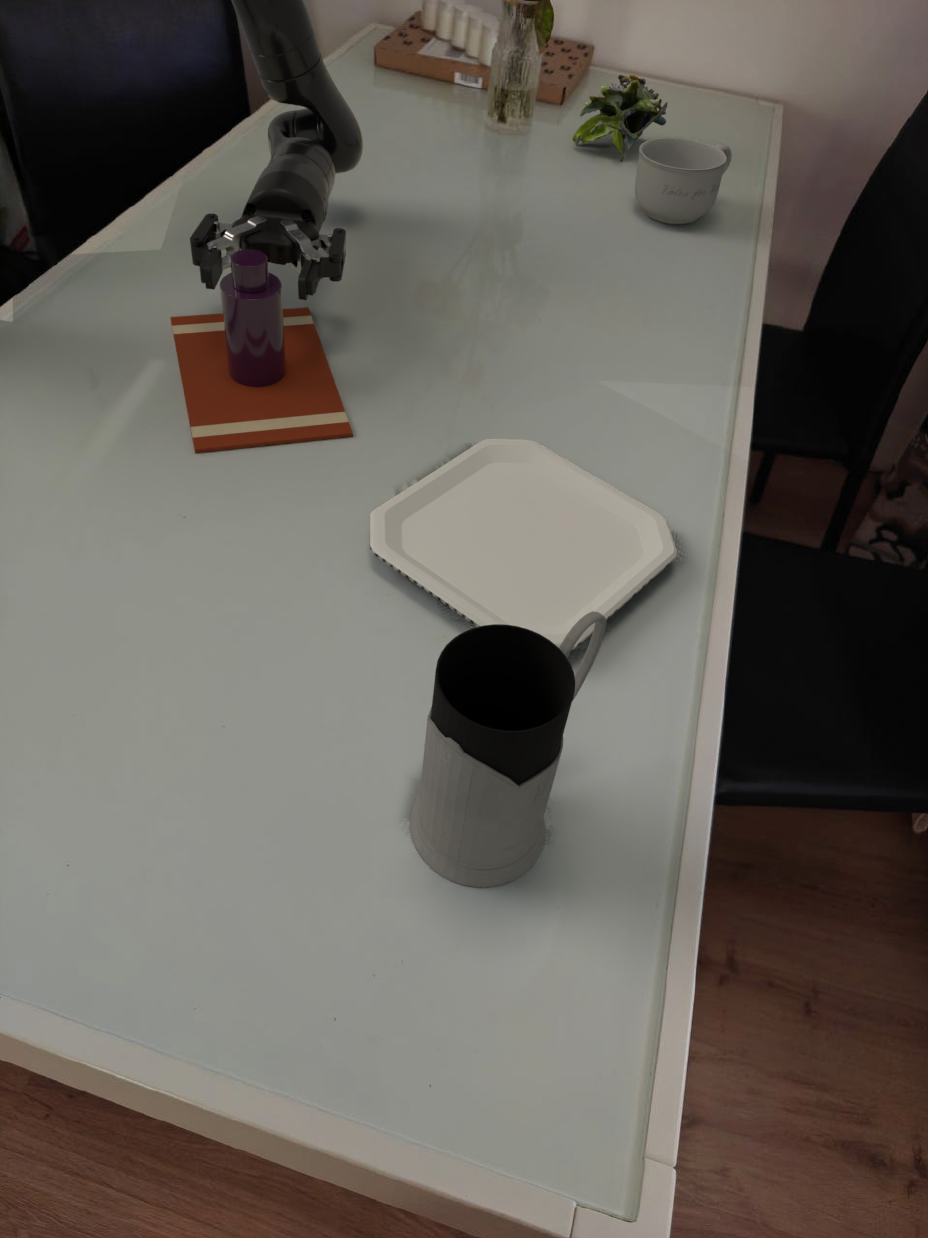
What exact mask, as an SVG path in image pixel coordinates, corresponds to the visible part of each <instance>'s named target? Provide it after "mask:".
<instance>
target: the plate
mask: <svg viewBox="0 0 928 1238" xmlns="http://www.w3.org/2000/svg"><path fill="white" fill-rule="evenodd" d="M369 549H370V551H371V552H372V554H373V556H375V557H376V558H378V560H381V561H382V562H383V563H385V564H386V565H388V566H389V567H391V568H392V569H393V570H395V571H396V572H397V573H399V574H401V575H402V576H403V577H405V578H406V579H408V580H409V581H411V582H412V583H414V584H415V585H416V586H417V587H419V588H420V589H422V590H424V591H425V592H426V593H428V594H429V595H430V596H432V597H434V598H435V599H436V600H438V601H439V602H441V603H443V604H444V605H445V606H446V607H448V608H449V609H451V610H452V611H454V612H455V613H456V614H458V615H460V616H461V617H462V618H464V619H465V620H466V621H468V622H469V623H471V624H472V625H473V626H475V627H480V626H484V625H493V624H502V625H512V626H518V627H522V628H525V629H529V630H531V631H534V632H536V633H538V634H540V635H542V636H544V637H545V638H547V639H549V640H550V641H551V642H552V643H554V644H555V645H556V646H557V647H558V648H559V647H560V645H561V643H562V642H563V640H564V638H565V637H566V635H567V634H568V633H569V631H570V630H571V628H572V627H573V626H574V625H575V624H576V623H577V622H578V621H579V620H580V619H581V618H582V617H583V616H585V615H586V614H588V613H590V612H592V611H594V612H599V613H600V614H602V615H603V616H604V617H605V618H606V621H607V620H608V619H610V618H611V617H612V616H613V615H614V614H615V613H616V612H618V610H620V609H621V608H622V607H623V606H624V605H625V604H626V603H628V602H629V601H630V600H631V599H632V598H633V597H634V596H635V595H637V594H638V593H639V592H640V591H641V590H642V589H643V588H645V586H647V585H648V584H649V583H650V582H651V581H652V580H653V579H654V578H656V577H657V576H658V575H659V574H660V573H661V572H662V571H663V570H664V569H665V568H667V567H668V566H669V565H670V564H671V563H673V561H675V560H676V558H677V554H678V550H677V546H676V543H675V541H674V537H673V534H672V531H671V528H670V525H669V521H668V520H667V519H666V518H665V517H664V516H663V515H662V514H660V513H658V512H657V511H655V510H653V508H650V507H648V506H647V505H645V504H643V503H641V502H640V501H638V500H637V499H635V498H633V497H631V496H630V495H628V494H626V493H624V492H623V491H621V490H619V489H617V488H616V487H614V486H612V485H611V484H609V483H608V482H606V481H604V480H602V479H601V478H598V477H597V476H595V475H594V474H592V473H590V472H588V471H587V470H585V469H583V468H581V467H580V466H578V465H576V464H574V463H572V462H571V461H569V460H568V459H566V458H564V457H562V456H560V455H559V454H557V453H556V452H554V451H552V450H551V449H549V448H547V447H545V446H543V445H541V443H539V442H536V441H534V440H530V439H513V438H486V439H482V440H480V441H479V442H477V443H476V444H474V445H472V446H471V447H469V448H467V450H464V451H463V452H462V453H460V454H459V455H457V456H456V457H454V458H452V459H451V460H449V461H448V462H446V463H445V464H444V465H441V466H440V467H438V468H437V469H435V470H434V471H432V472H430V473H429V474H427V475H426V476H424V477H423V478H421V479H420V480H418V481H417V482H415V483H413V484H411V485H410V486H409V487H407V488H405V489H404V490H402V491H401V492H399V493H398V494H396V495H395V496H393V497H391V498H390V499H388V500H386V501H385V502H383V503H382V504H380V505H379V506H378V507H375V508H374V509H373V510H372V511H371V513H370V515H369ZM594 627H595V623H593V624H592V625H591V626H589V627H588V628H587V629H586V631H585V632H584V633H583V634H582V635H581V637H580V638H579V639H578V641H577V642H576V644H575V645H574V647H573V649H572V650H571V651H573V650H575V649H576V648H577V647H578V646H580V644H582V642H584V641H585V640H586V639H588V638H589V637H590V636H592V634H593V631H594Z"/></svg>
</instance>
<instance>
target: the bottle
mask: <svg viewBox="0 0 928 1238" xmlns="http://www.w3.org/2000/svg"><path fill="white" fill-rule="evenodd" d="M230 261H231V267H230V271H231V272H230V273H228V274H226V275H225V276H223V277H222V279H221V280H220V283H219V288H220V289H219V290H220V299H221V309H222V313H223V321H224V331H225V341H226V351H227V361H228V371H229V375H230V377H231V378H232V379H233V380H234V381H236V382H238V383H240V384H242V385H245V386H251V387H263V386H269V385H272V384H275V383H277V382H278V381H280V380H281V379H282V378H283V377H284V376H285V373H286V363H285V343H284V323H283V309H284V307H283V305H284V303H283V285H282V281H281V280H280V278H279V277H278V276H276V275H275V274H274V273H271V272H269V262H268V258H267V256H266V255H265V254H264V253H263V252H261V251H258V250H253V249H244V250H241V249H240V250H239V251H236V252H234V253H233V254H232V255H231V257H230Z"/></svg>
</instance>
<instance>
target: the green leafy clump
mask: <svg viewBox="0 0 928 1238" xmlns="http://www.w3.org/2000/svg"><path fill="white" fill-rule="evenodd" d="M617 78H618V80H619V84H618V85H617V83H615V84H613V83H612V82H611V85H612V86H608V85H609V84H607V86H605V85H602V86H601V87H600V92H599V94H597V96H595V95H593V94H590V95H589V97H588V99H589V100H590V103H589V102H585V103H584V107H583V108H582V109H581V111H580V114H579V117H583V116H584V115H586V114H590V113H592V112H597V111H599V114H596V115H594V116H591V117H590V118H589V119H587V120H585V122H583V124H582V125H580V126H579V127H578V129H577V130H576V131H575V133H574V134H573V136H572V141H573V143H575V145H576V146H578V145H579V142H582V144H590V143H593V142H595V141H597V140H599V139H601V138H603V137H606V136H608V135H611V134H612V142H613V144H614V146H615V148H616V149H617V150H618V151H619V152H620V153H623V155H622V156H621V158H620V160H619V162H623V160H624V159H625V157H626V156H627V154H628V152H629V150H630V148H631V147H632V146H633V144H634V143H635V142H637V141H638V140H639V138H640V137H641V136H642V135H643V133H644V131H645V130H646V129H647V128H648V127H649V126H650V125H651V124H653V123H655V124H657V125H659V126H665V125H666V123H667V119H666V118H665V117H664V115H666V114H667V111H666V110H667V108H668V102H667V101H666V102H665V103H664V104H663V105H662V101H663V100H662V99H661V98H659V96H660V94H659V93H658V92H656V93H654V92H655V89H652V88H650V89H649V88H648V86H646V84H647V82H646V79H645V78H640V77H639V76H637V75H635V74H629V75H628V76H626V75H623V74H619V75H618V76H617ZM623 151H624V152H623Z"/></svg>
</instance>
